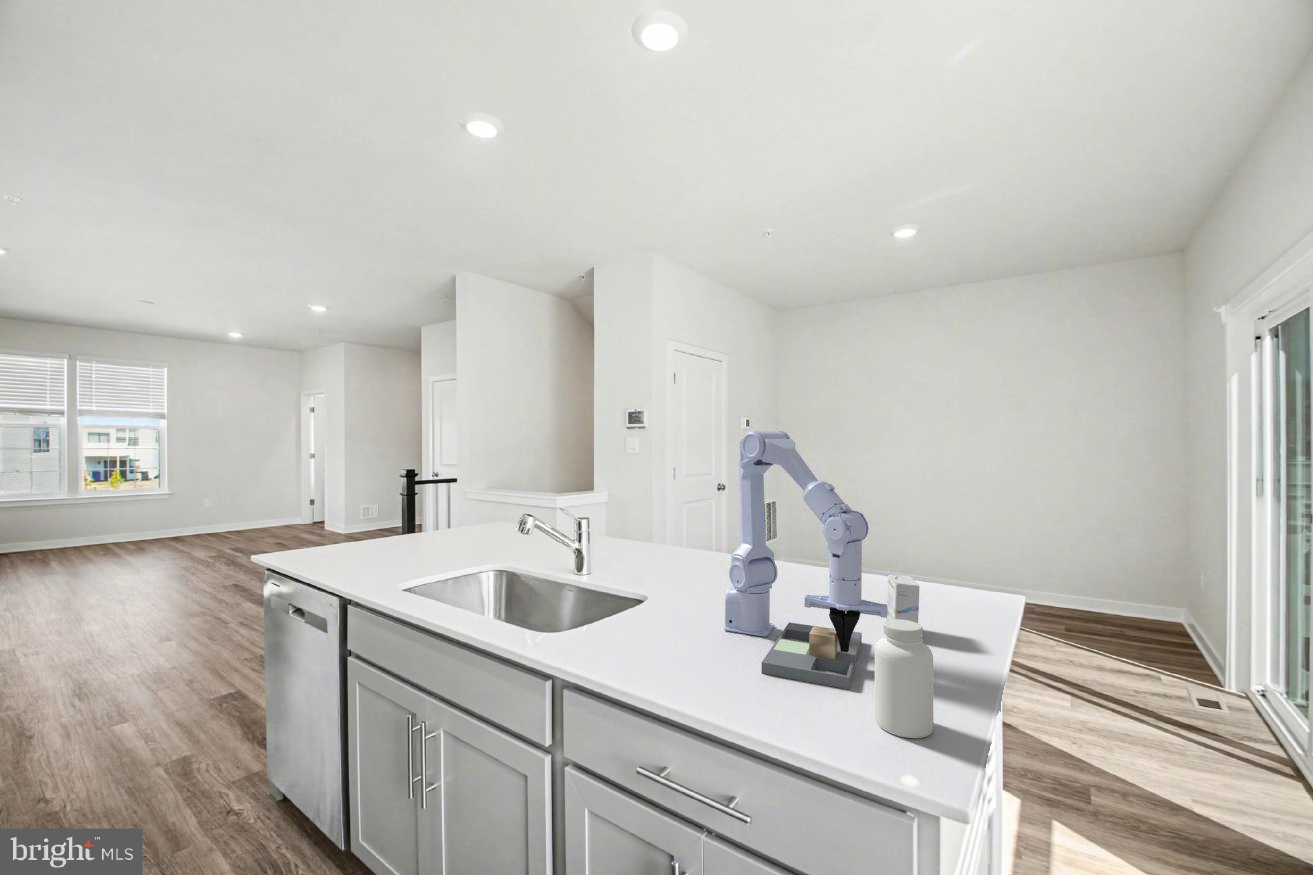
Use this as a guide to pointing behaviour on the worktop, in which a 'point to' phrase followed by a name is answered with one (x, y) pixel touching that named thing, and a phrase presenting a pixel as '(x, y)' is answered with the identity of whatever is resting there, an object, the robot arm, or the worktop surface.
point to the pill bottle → (904, 680)
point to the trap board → (810, 659)
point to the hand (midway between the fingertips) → (844, 650)
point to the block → (823, 642)
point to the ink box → (902, 598)
